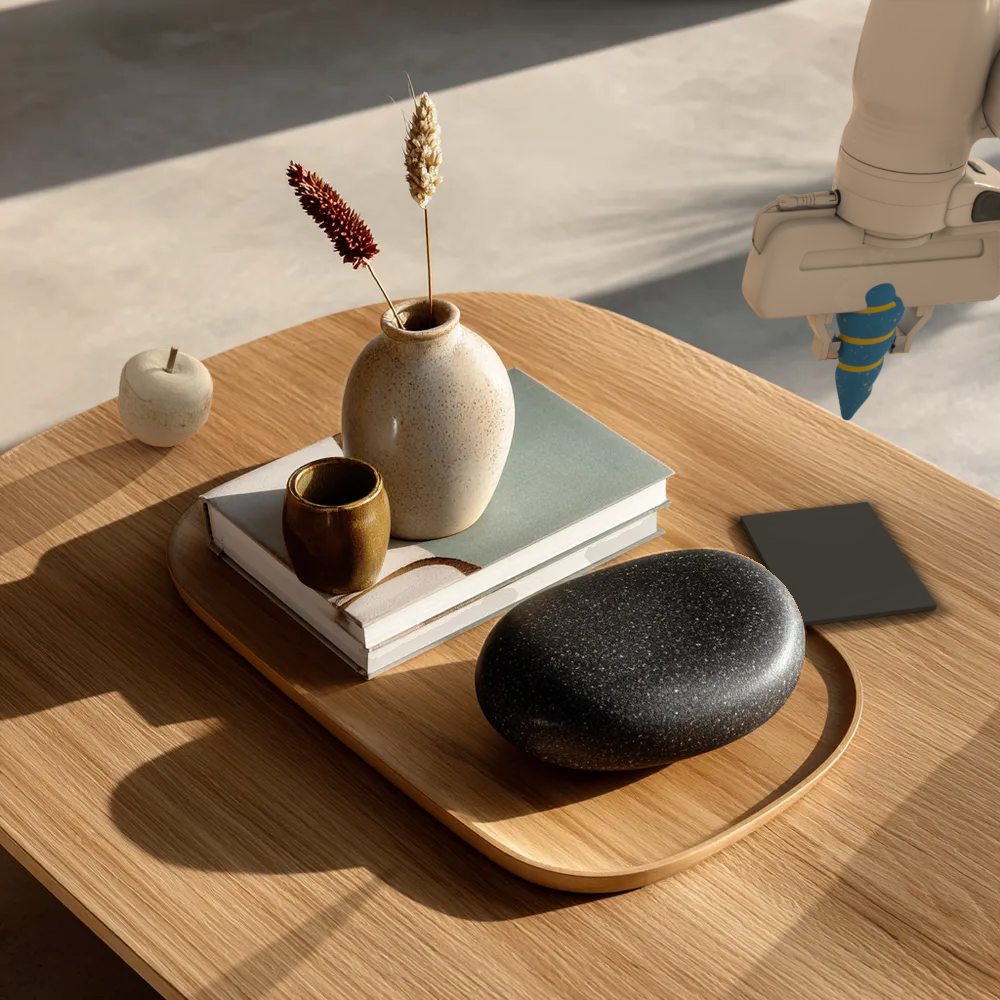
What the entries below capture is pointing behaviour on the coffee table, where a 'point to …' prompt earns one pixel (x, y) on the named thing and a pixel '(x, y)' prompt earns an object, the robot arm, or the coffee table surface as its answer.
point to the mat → (837, 563)
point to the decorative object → (164, 396)
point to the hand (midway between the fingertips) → (860, 353)
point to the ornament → (865, 346)
